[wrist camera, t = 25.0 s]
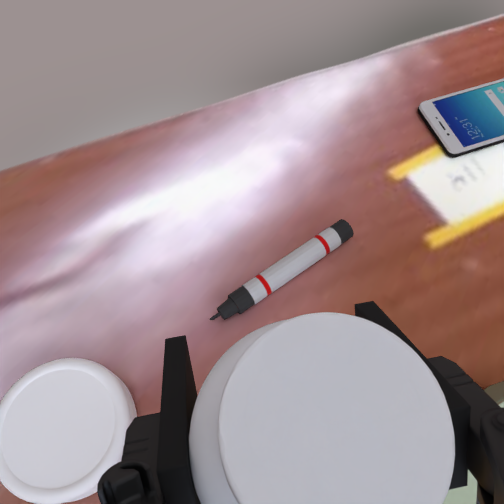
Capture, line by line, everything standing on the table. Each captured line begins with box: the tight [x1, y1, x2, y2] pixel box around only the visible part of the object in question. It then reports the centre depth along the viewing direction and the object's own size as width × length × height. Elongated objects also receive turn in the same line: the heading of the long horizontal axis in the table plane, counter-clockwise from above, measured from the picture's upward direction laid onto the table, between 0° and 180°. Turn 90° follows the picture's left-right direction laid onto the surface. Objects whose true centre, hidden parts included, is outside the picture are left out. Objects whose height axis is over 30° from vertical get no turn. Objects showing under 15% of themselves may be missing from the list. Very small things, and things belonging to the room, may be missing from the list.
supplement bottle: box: [189, 312, 455, 504], centre depth 15 cm, size 7×7×13 cm
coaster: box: [0, 358, 137, 504], centre depth 34 cm, size 10×10×4 cm
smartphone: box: [418, 79, 504, 157], centre depth 50 cm, size 8×1×15 cm
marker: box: [210, 219, 353, 320], centre depth 41 cm, size 15×2×2 cm, turn 126°
